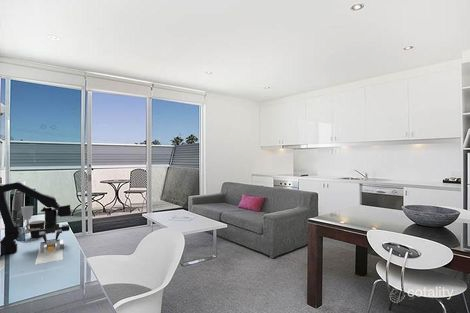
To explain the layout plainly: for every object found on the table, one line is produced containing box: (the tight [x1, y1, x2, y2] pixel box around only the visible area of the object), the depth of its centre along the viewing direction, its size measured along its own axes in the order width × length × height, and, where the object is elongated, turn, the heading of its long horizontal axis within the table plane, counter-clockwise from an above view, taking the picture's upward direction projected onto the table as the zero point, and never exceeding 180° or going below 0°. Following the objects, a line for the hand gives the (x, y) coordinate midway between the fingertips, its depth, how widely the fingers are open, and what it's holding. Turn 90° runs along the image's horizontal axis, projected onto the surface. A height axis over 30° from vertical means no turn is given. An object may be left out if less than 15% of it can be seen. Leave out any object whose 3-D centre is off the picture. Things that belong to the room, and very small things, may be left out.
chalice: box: [20, 205, 34, 234], centre depth 188 cm, size 7×7×18 cm
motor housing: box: [39, 238, 65, 253], centre depth 151 cm, size 11×5×5 cm, turn 122°
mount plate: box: [34, 239, 64, 266], centre depth 150 cm, size 12×38×1 cm, turn 32°
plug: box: [47, 238, 56, 252], centre depth 154 cm, size 4×14×3 cm, turn 33°
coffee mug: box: [25, 219, 45, 239], centre depth 178 cm, size 12×9×10 cm
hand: (51, 244), depth 157 cm, fingers closed on plug, 4 cm apart
